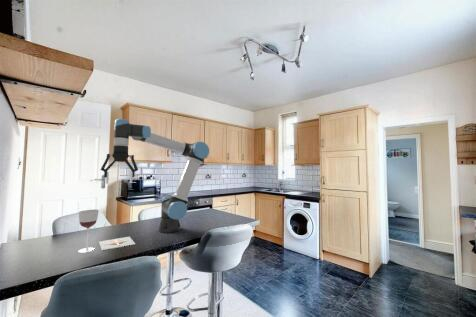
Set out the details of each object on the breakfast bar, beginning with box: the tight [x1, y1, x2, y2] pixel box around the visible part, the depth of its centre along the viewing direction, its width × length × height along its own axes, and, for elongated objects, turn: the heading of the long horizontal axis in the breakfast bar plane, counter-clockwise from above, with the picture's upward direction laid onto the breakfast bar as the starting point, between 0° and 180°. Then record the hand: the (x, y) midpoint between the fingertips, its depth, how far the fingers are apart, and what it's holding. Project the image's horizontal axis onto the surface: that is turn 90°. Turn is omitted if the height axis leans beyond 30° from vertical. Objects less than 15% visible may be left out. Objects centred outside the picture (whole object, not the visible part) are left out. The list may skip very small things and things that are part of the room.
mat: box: [98, 236, 136, 252], centre depth 121 cm, size 16×16×1 cm
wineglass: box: [77, 209, 99, 254], centre depth 111 cm, size 8×9×20 cm
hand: (119, 183), depth 123 cm, fingers open, 11 cm apart
